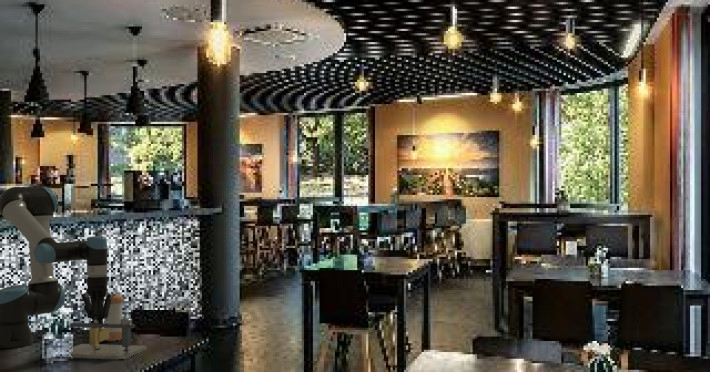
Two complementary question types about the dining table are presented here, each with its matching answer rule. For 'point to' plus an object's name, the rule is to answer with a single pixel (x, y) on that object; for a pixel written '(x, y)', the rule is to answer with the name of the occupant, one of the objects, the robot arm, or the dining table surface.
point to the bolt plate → (105, 351)
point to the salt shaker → (115, 317)
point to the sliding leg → (98, 335)
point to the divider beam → (125, 325)
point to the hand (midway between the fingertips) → (97, 336)
